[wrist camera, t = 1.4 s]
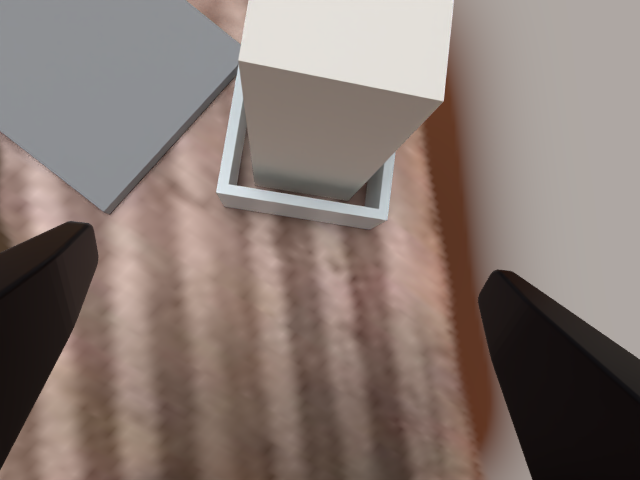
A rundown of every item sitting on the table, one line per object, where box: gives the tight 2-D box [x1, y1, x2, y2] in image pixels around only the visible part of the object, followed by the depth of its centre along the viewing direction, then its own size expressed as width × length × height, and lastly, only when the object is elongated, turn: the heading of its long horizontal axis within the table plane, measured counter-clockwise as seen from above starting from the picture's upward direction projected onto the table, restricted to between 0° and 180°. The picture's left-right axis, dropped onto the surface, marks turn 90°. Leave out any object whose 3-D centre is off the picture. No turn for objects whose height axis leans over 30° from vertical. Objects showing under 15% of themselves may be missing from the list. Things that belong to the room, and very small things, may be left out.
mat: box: [0, 0, 241, 214], centre depth 22 cm, size 12×12×1 cm
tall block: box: [238, 0, 454, 201], centre depth 17 cm, size 6×6×13 cm
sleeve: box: [216, 65, 395, 230], centre depth 22 cm, size 8×8×4 cm
